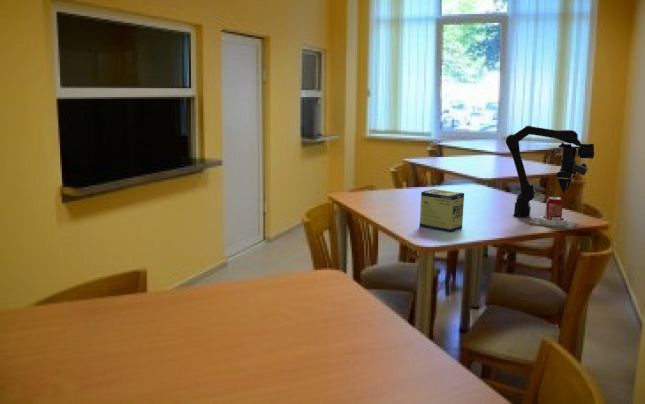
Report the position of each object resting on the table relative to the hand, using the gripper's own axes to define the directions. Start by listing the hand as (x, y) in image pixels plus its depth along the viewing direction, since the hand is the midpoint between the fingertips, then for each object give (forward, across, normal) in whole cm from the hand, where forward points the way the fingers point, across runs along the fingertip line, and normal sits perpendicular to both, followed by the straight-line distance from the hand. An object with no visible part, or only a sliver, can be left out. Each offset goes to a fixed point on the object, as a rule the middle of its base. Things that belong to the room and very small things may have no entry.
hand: (565, 191), depth 271 cm
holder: (+13, -15, +2) cm, 20 cm away
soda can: (+13, -15, +2) cm, 20 cm away
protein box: (+13, -49, +42) cm, 66 cm away
